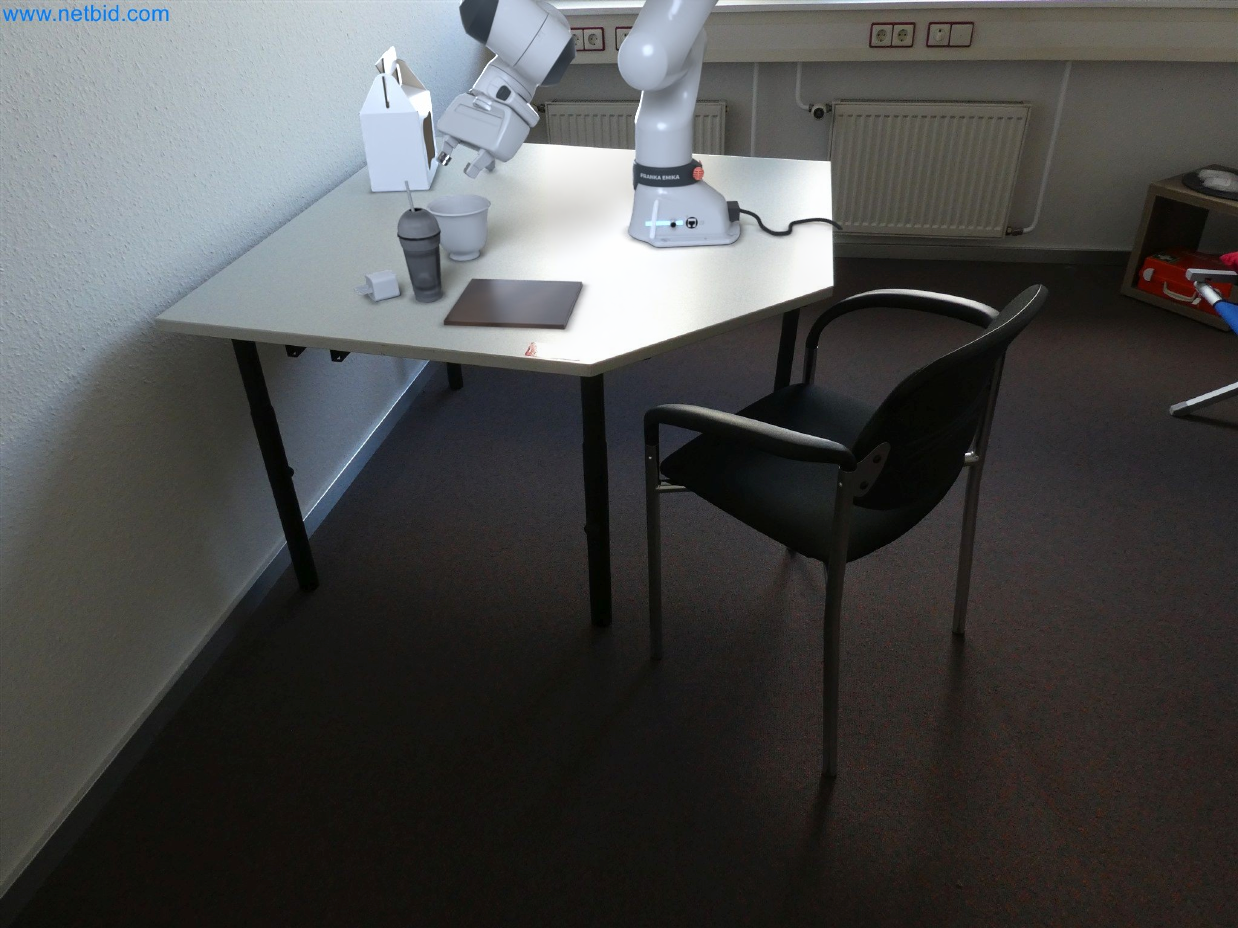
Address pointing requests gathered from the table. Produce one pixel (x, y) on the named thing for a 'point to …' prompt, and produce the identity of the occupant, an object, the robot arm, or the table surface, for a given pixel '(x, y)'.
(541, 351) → the table surface
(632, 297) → the table surface
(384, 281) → the usb wall charger
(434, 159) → the gable box
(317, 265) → the table surface
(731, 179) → the table surface
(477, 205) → the teacup
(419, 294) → the beverage cup
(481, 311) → the mat
